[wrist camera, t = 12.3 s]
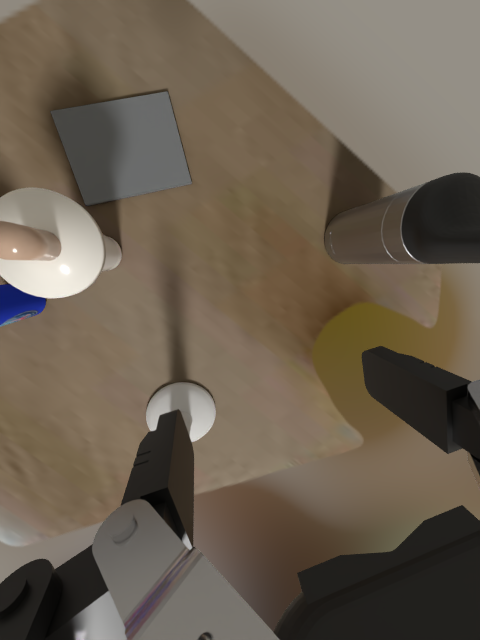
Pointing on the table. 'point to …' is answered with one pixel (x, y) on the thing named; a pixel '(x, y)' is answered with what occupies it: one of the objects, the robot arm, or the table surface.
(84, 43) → the table surface
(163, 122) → the mat
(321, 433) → the table surface
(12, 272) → the lid
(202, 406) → the candlestick
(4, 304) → the beverage can
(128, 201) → the table surface
